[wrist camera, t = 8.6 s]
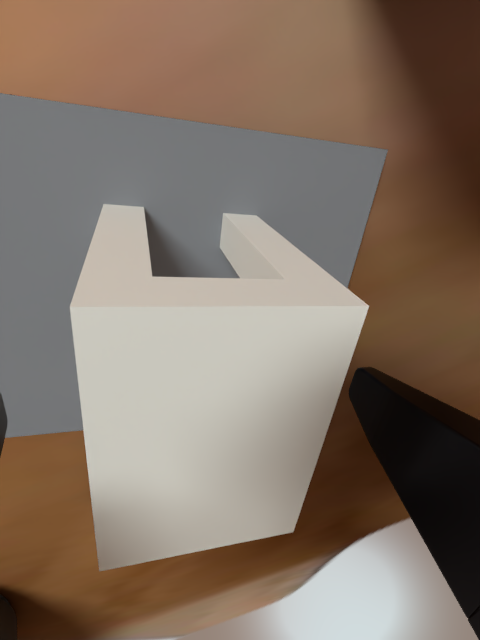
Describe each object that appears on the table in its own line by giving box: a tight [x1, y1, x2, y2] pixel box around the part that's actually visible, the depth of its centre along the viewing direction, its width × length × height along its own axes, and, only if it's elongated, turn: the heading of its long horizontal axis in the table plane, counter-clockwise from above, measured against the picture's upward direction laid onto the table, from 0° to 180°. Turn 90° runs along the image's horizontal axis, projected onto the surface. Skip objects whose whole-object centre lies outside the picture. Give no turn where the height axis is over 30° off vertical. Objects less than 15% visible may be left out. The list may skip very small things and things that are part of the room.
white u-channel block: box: [70, 204, 369, 571], centre depth 10 cm, size 5×7×7 cm
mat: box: [0, 93, 388, 438], centre depth 13 cm, size 14×12×1 cm
